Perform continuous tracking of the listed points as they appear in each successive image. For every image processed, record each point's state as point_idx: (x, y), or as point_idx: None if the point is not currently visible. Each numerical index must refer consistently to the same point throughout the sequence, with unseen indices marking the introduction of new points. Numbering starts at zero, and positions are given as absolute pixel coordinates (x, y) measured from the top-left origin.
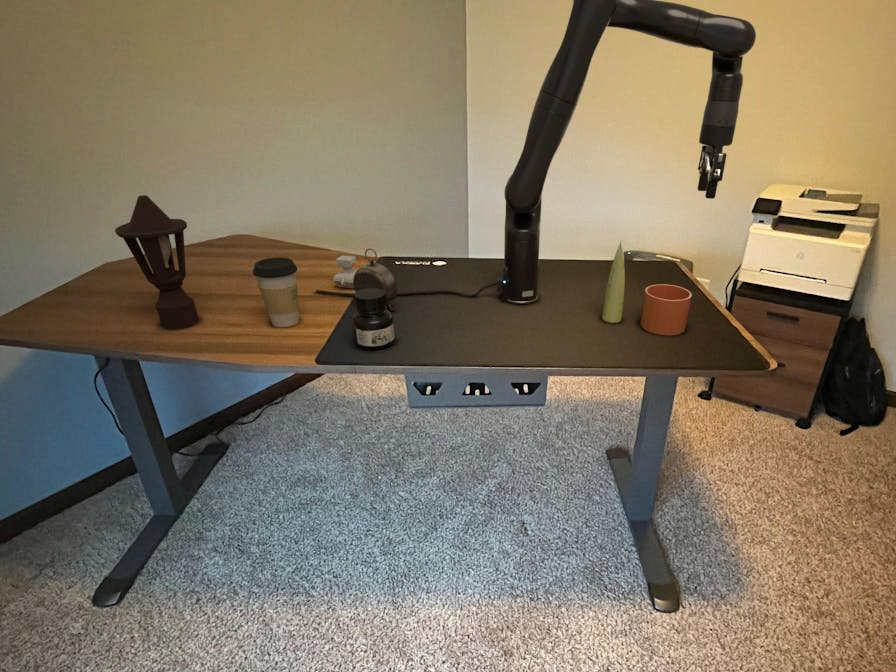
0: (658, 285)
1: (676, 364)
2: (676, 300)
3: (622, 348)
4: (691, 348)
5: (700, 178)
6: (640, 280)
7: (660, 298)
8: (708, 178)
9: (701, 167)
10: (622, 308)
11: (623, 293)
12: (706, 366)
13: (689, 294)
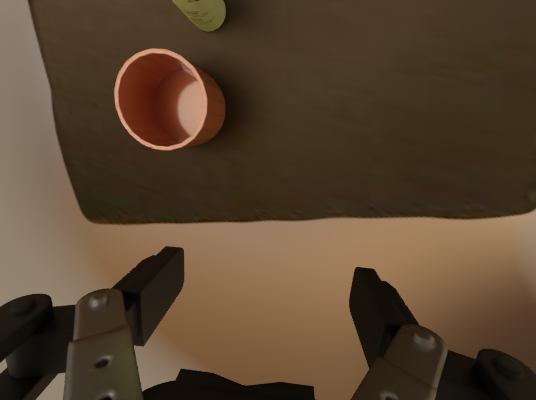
0: (201, 89)
1: (58, 95)
2: (117, 107)
3: (93, 14)
4: (114, 133)
5: (376, 310)
6: (421, 116)
7: (121, 74)
8: (89, 299)
9: (375, 365)
10: (192, 19)
11: (175, 1)
12: (62, 138)
13: (157, 145)
